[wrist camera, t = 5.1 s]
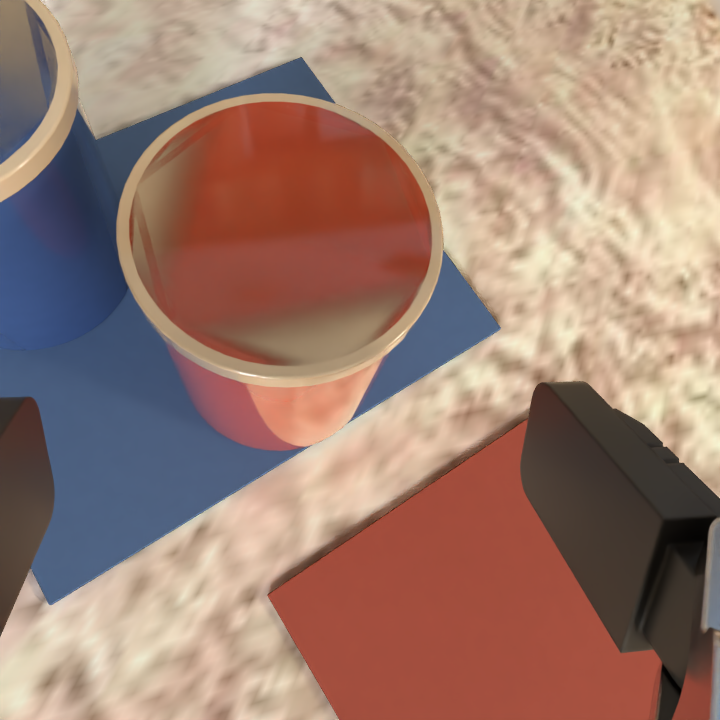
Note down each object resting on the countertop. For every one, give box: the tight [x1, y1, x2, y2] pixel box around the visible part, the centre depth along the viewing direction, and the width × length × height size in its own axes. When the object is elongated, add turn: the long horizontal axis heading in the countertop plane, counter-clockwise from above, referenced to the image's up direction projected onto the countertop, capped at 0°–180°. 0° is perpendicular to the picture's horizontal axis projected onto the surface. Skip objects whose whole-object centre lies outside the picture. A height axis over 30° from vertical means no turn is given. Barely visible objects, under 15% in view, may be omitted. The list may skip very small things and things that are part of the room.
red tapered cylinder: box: [116, 93, 443, 451], centre depth 17 cm, size 7×7×8 cm
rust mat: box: [268, 419, 661, 720], centre depth 19 cm, size 12×10×1 cm
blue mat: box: [0, 57, 501, 605], centre depth 21 cm, size 16×13×1 cm
